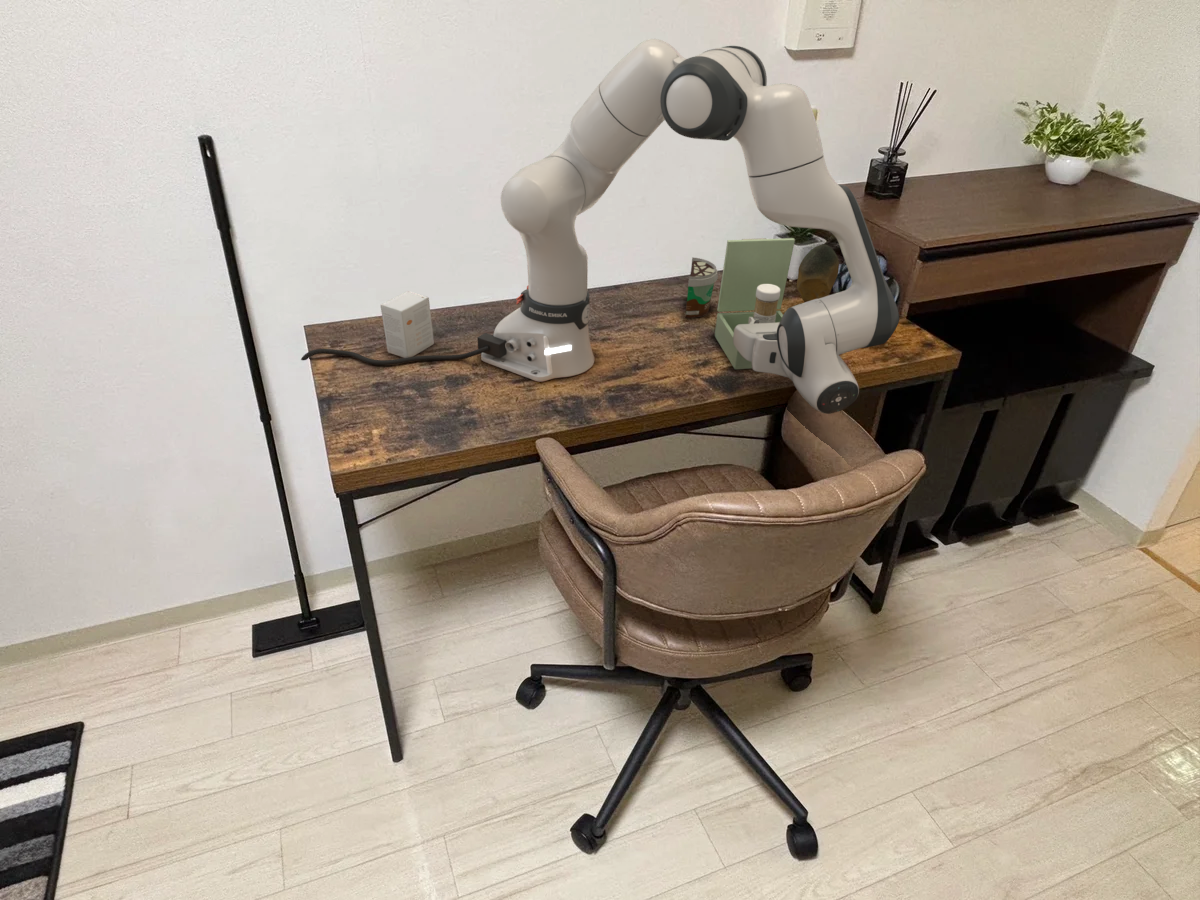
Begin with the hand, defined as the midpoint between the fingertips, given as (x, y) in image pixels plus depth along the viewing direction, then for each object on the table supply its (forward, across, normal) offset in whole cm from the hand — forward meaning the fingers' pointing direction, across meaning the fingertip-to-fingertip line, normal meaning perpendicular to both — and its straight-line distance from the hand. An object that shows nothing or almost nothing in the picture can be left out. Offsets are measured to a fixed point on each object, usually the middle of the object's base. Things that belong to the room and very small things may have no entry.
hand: (775, 319), depth 147 cm
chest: (+7, 0, +10) cm, 13 cm away
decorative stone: (+26, -19, +11) cm, 34 cm away
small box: (+15, +70, +10) cm, 72 cm away
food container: (+27, +7, +10) cm, 30 cm away
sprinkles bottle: (+6, 0, +10) cm, 11 cm away
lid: (+13, 0, -3) cm, 14 cm away
